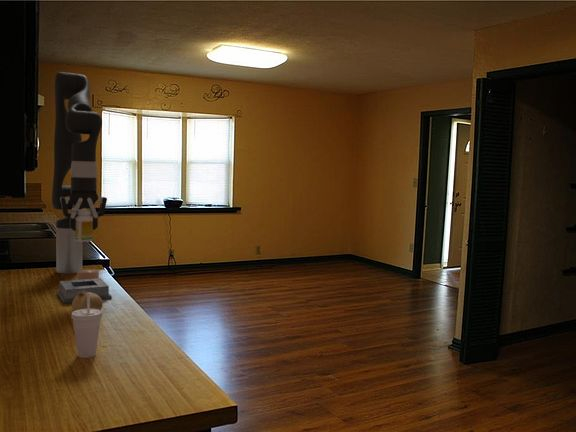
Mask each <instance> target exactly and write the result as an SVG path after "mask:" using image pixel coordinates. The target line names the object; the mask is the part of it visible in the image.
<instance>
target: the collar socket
mask: <svg viewBox="0 0 576 432" xmlns="http://www.w3.org/2000/svg"><path fill="white" fill-rule="evenodd" d="M109 288H110V286H109V285H108V283H106V282H105V281H104V280H103V279H102V278H101V277H99V278H97V279H84V280H77V279H73V280H72V279H71V280H60V281H59V289H57V290H56V294H57V295H58V297H59V299H60V300H61V302H62V303H63V304H64V305H65V304H72V302H73V300H74V298H75V297H76V296H77V295H78V293H79V292H82V291H86V292H91V293H95V294H96V295H98V296H99V297H100V298H101V299H102V301H103V300H112V299H113V296H112V295H111V293H110V292H109V291H110V290H109Z"/></svg>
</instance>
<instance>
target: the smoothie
mask: <svg viewBox="0 0 576 432" xmlns="http://www.w3.org/2000/svg"><path fill="white" fill-rule="evenodd" d="M102 317H103V311H102V309H101V310H99V309H90V293H87V309H80V310H76V311H74V312H73V311H72V312H71V320H72V323H73V330H74V335H75V336H74V338H75V344H76V352H77V357H78V358H82V359H87V358H88V359H89V358H93V357H95V356H96V354H97V347H98V340H99V333H100V325H101V318H102Z"/></svg>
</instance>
